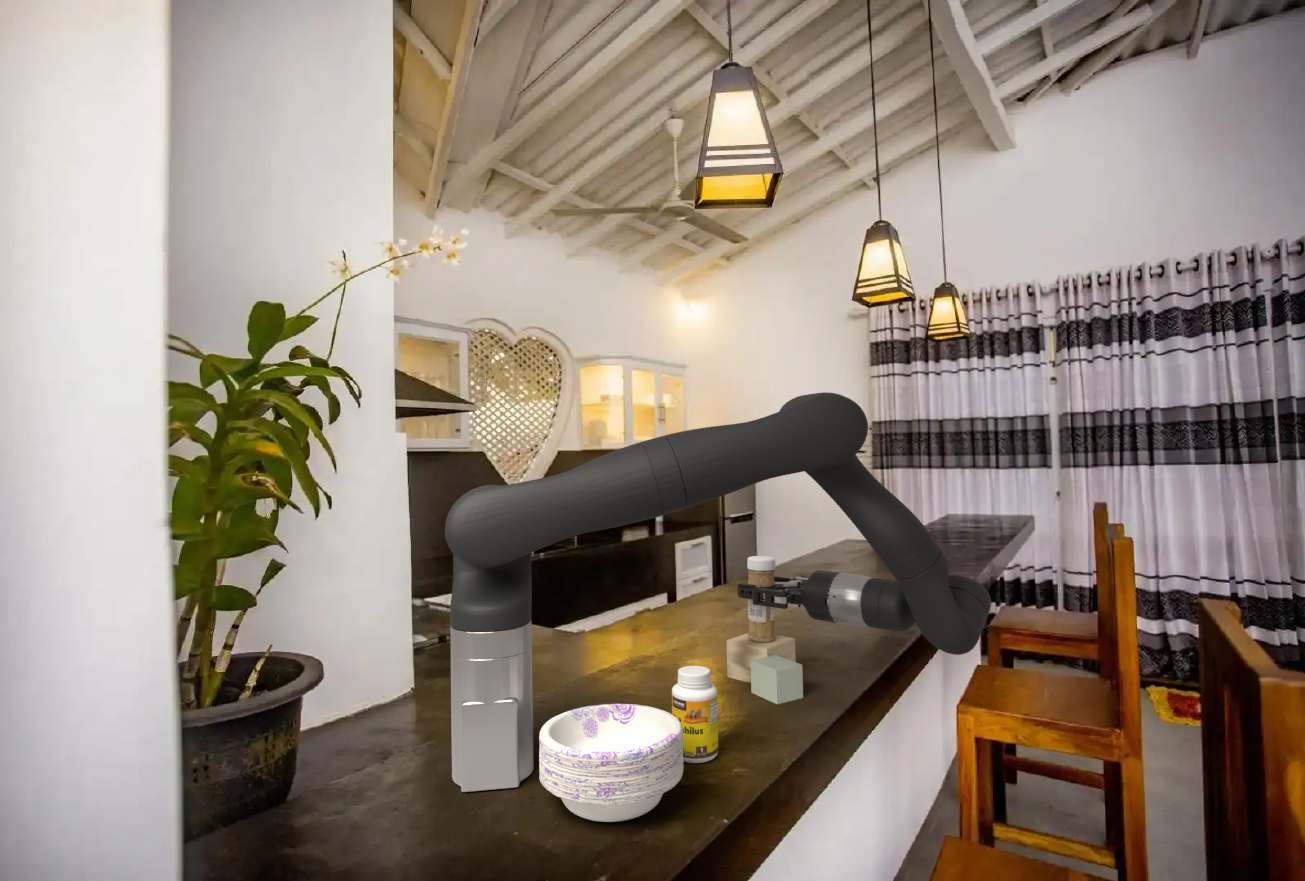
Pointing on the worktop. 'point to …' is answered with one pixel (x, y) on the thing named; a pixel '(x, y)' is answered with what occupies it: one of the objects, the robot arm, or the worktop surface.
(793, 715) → the worktop surface
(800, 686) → the sage block
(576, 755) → the paper bowls
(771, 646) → the beech pedestal
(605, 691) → the worktop surface
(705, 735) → the supplement bottle
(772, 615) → the brown spice jar
